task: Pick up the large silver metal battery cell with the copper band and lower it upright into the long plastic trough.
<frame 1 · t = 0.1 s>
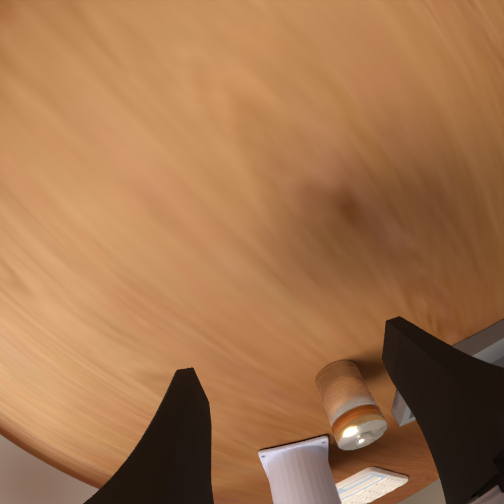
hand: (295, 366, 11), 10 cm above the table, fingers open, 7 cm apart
cell: (336, 376, 25), on the table
trough: (464, 360, 28), on the table
calculator: (360, 485, 42), on the table
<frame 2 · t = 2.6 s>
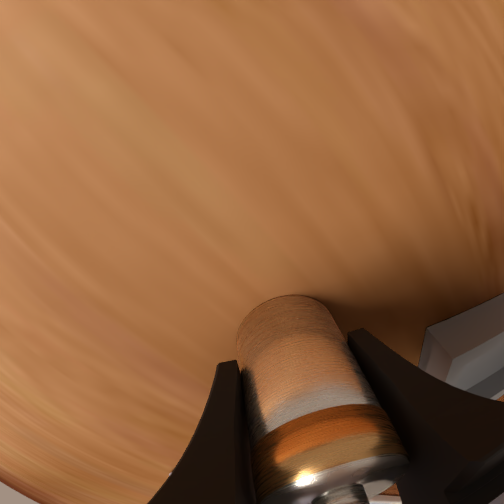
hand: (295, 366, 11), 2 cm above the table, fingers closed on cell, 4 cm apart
cell: (286, 337, 12), on the table, touching gripper
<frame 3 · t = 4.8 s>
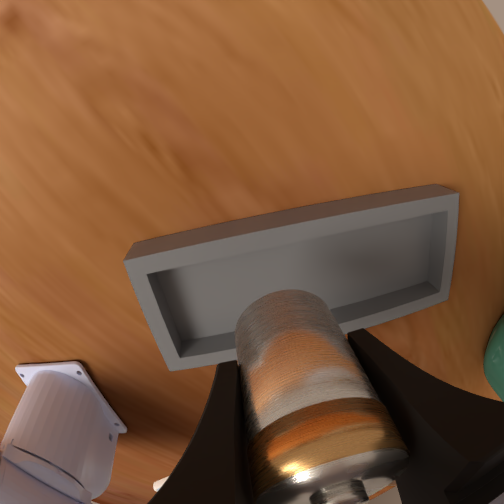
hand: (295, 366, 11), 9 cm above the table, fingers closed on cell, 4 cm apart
cell: (284, 332, 12), point 7 cm above the table, touching gripper
trough: (308, 267, 19), on the table
when the fingers open (4 cm above the table, at t = 6.9 s): cell stays where it is, resting on trough.
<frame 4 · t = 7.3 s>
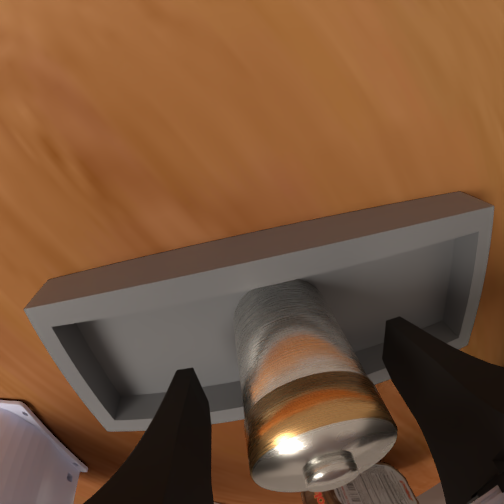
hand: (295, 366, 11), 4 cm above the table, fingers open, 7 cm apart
cell: (280, 318, 13), point 1 cm above the table, touching trough
tin: (356, 461, 22), on the table
trough: (278, 312, 14), on the table
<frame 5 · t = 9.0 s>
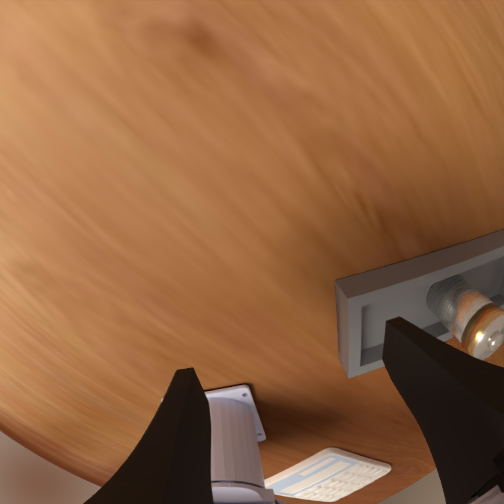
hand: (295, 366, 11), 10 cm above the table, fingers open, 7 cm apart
cell: (444, 292, 23), point 1 cm above the table, touching trough
trough: (438, 290, 23), on the table
calculator: (329, 474, 37), on the table
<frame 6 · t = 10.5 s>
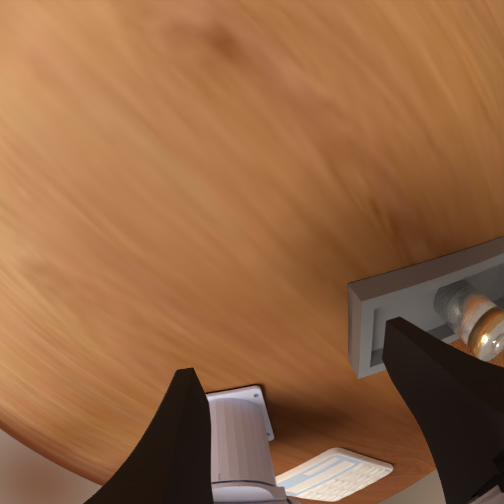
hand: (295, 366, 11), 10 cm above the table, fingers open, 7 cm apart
cell: (450, 295, 23), point 1 cm above the table, touching trough
trough: (445, 293, 24), on the table
calculator: (332, 473, 37), on the table
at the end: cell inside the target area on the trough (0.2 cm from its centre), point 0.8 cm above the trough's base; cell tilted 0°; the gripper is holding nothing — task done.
